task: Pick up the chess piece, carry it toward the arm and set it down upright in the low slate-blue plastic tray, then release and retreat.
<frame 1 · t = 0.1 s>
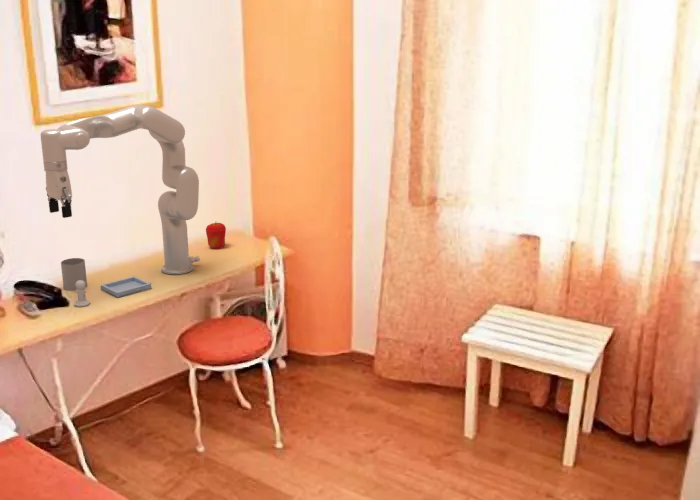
hand: (60, 214, 282), 31 cm above the table, fingers open, 9 cm apart
apple: (216, 247, 351), on the table
tray: (126, 289, 300), on the table
cup: (75, 287, 303), on the table
chess piece: (82, 305, 286), on the table
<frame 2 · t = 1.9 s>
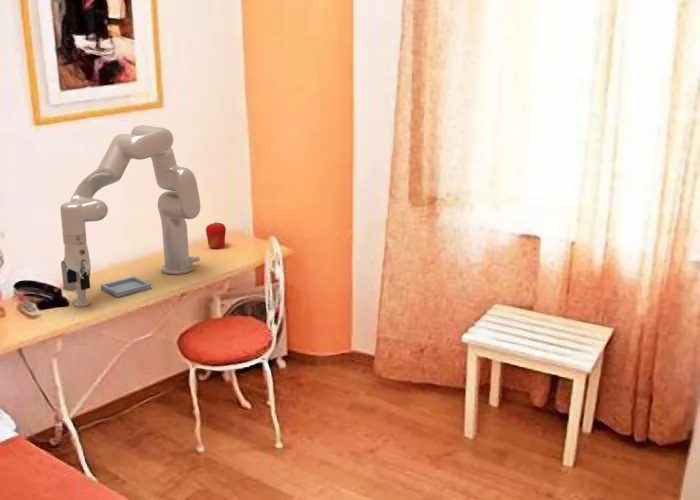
hand: (78, 285, 283), 7 cm above the table, fingers open, 9 cm apart
nothing on the table moved.
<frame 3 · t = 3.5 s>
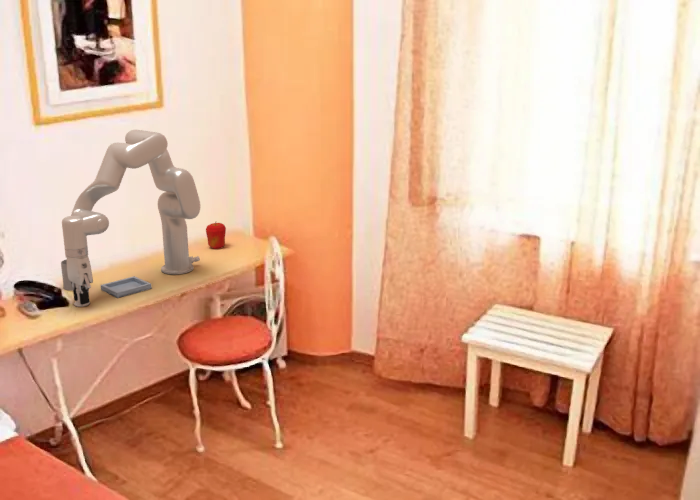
hand: (81, 301, 285), 1 cm above the table, fingers closed on chess piece, 3 cm apart
chess piece: (82, 305, 286), on the table, touching gripper
everything else where it was.
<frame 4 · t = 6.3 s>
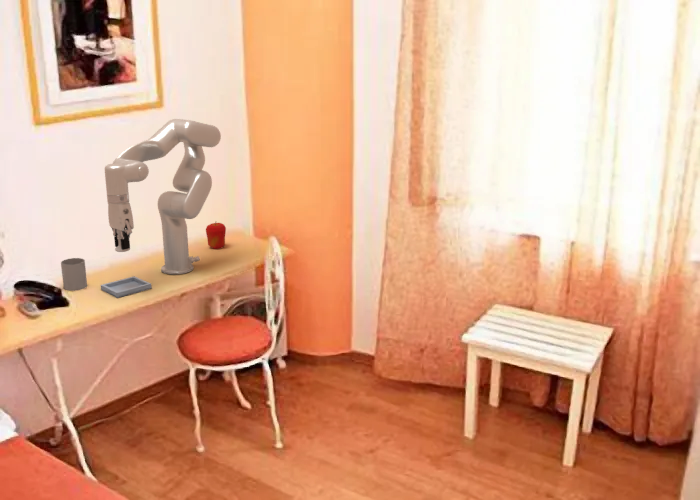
hand: (122, 247, 295), 16 cm above the table, fingers closed on chess piece, 3 cm apart
chess piece: (122, 250, 296), point 15 cm above the table, touching gripper
everything else where it was.
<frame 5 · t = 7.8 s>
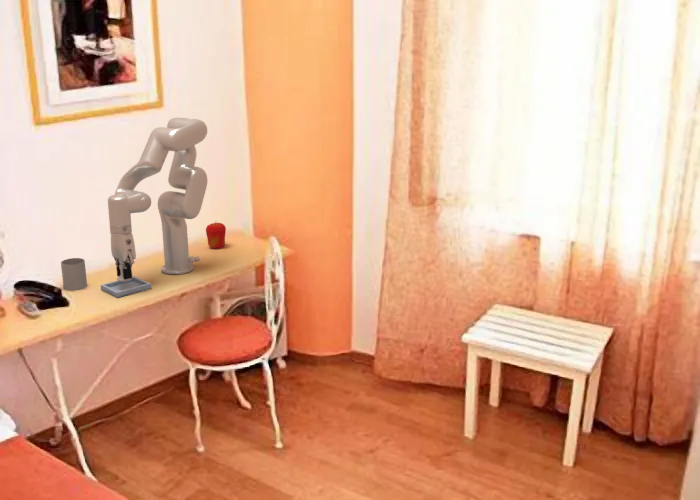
hand: (124, 276, 299), 5 cm above the table, fingers closed on chess piece, 3 cm apart
chess piece: (124, 280, 299), point 4 cm above the table, touching gripper
everything else where it was.
when the fingers open (3 cm above the table, at t = 8.9 s): chess piece stays where it is, resting on tray.
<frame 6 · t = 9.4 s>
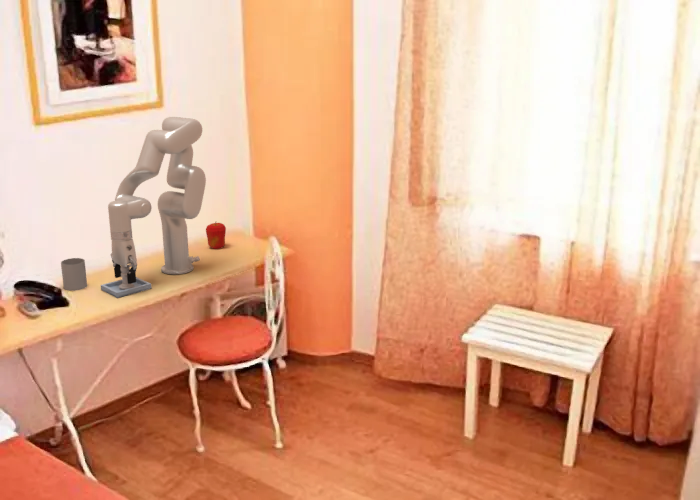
hand: (125, 279, 299), 4 cm above the table, fingers open, 8 cm apart
chess piece: (126, 288, 300), resting on tray
everything else where it was.
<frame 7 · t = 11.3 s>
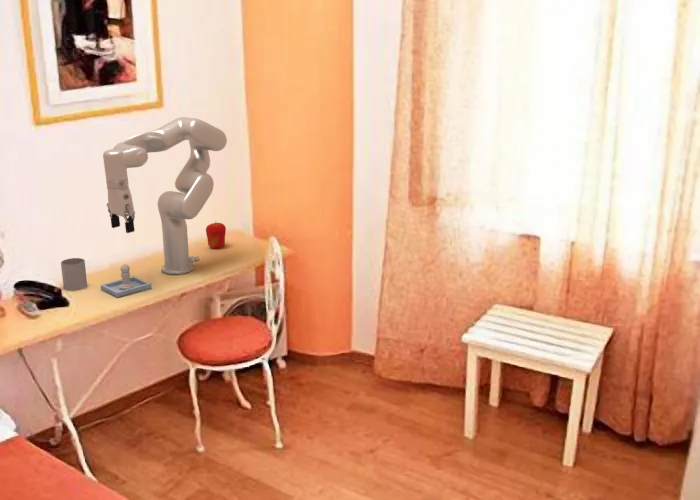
hand: (123, 229, 297), 22 cm above the table, fingers open, 9 cm apart
nothing on the table moved.
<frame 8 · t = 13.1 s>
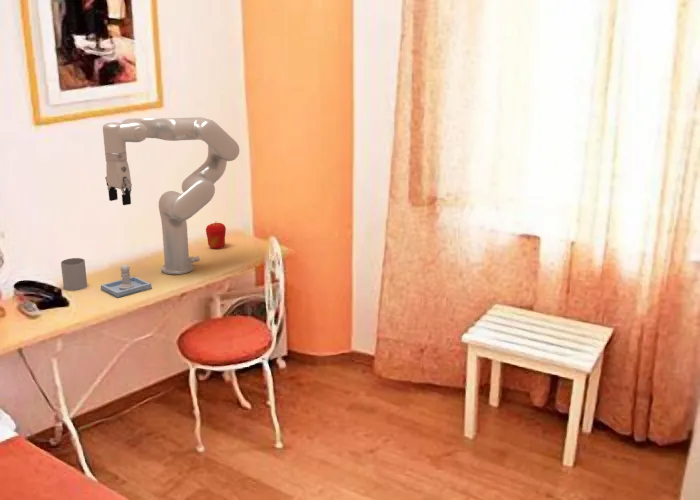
hand: (120, 202, 302), 30 cm above the table, fingers open, 9 cm apart
nothing on the table moved.
at the end: chess piece inside the target area on the tray (0.1 cm from its centre), point 0.4 cm above the tray's base; chess piece tilted 0°; the gripper is holding nothing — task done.
